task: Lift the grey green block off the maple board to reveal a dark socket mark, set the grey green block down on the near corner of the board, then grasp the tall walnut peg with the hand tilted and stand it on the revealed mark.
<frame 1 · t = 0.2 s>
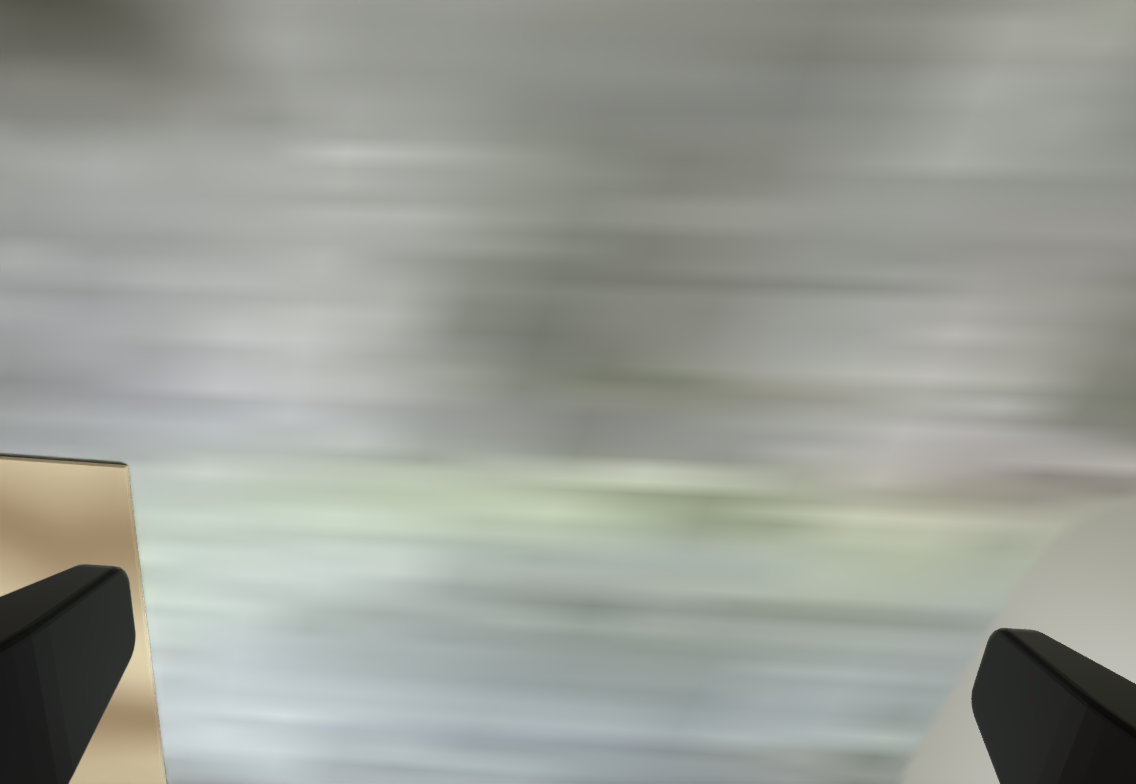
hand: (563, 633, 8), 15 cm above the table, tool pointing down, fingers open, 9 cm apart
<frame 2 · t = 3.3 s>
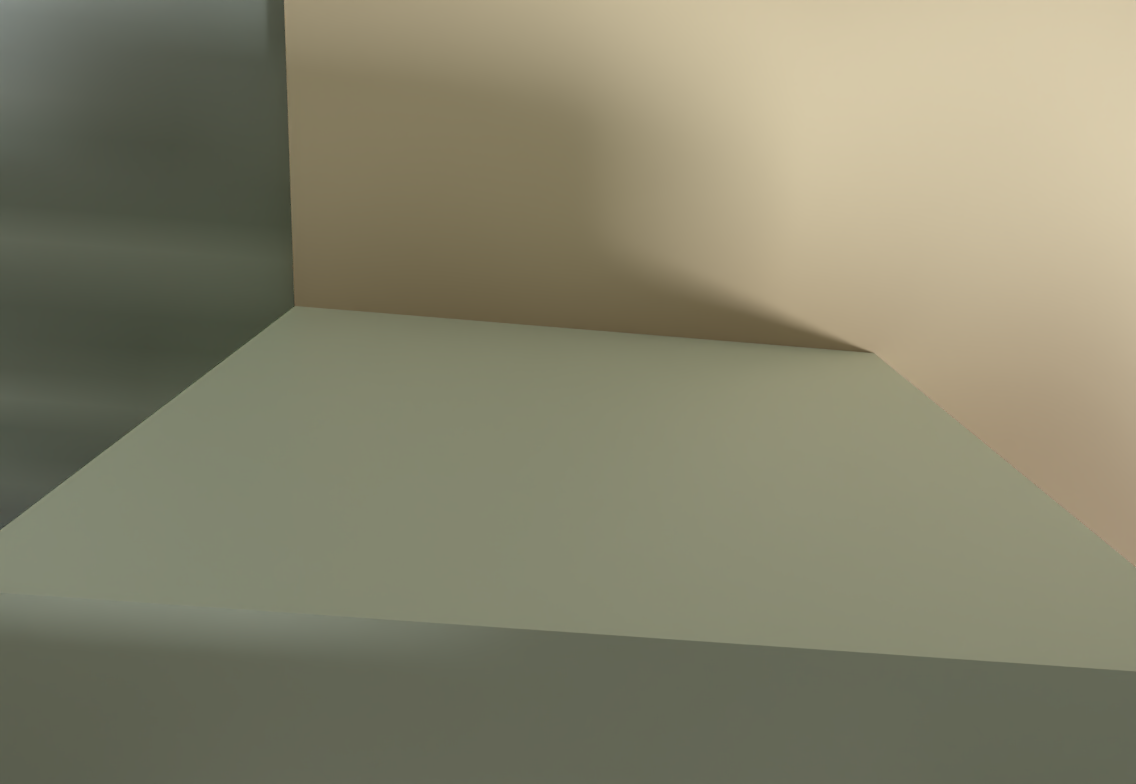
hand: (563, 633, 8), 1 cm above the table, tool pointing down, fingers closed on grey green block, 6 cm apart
grey green block: (563, 578, 9), resting on board, touching gripper
board: (1082, 531, 9), on the table
when the fingers open (2 cm above the table, at t = 7.9 s): grey green block drops 1 cm, resting on board.
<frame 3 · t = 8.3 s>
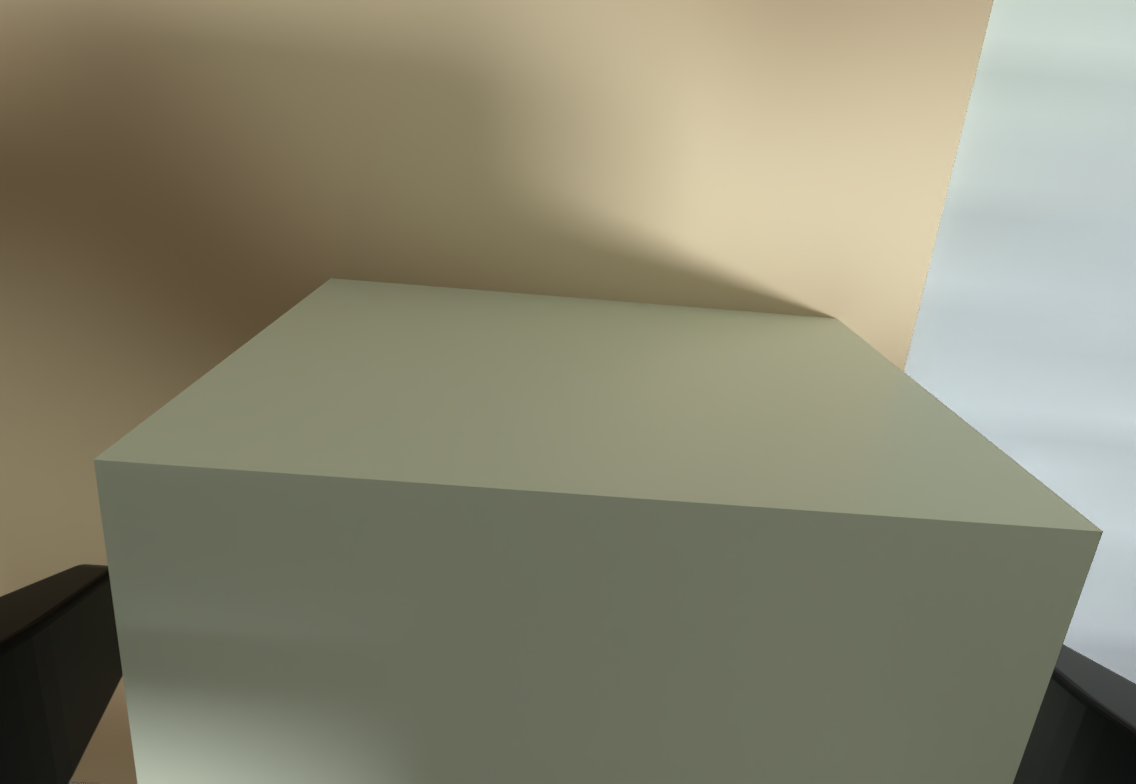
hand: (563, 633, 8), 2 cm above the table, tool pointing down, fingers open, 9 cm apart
grey green block: (565, 521, 10), resting on board
board: (161, 260, 9), on the table
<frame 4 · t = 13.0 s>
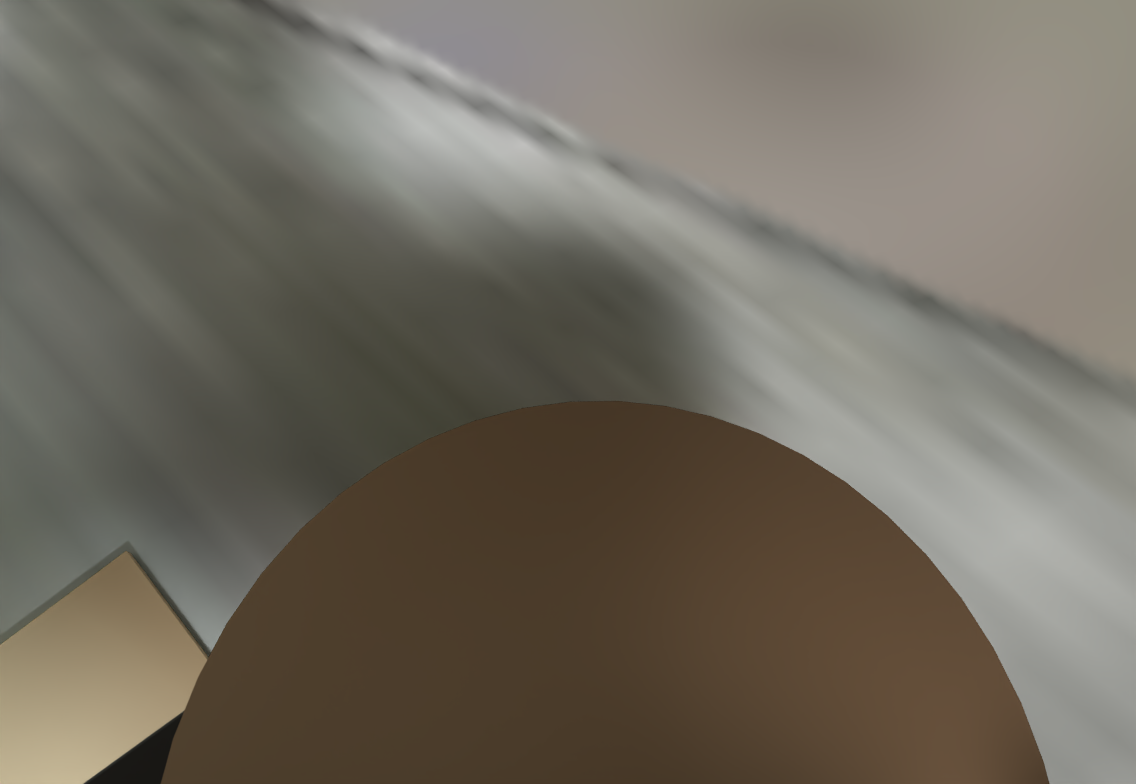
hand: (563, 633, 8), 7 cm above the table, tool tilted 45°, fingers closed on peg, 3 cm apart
peg: (537, 771, 14), on the table, touching gripper
when the fingers open (8 cm above the table, at t = 16.3 s): peg drops 1 cm, resting on board.
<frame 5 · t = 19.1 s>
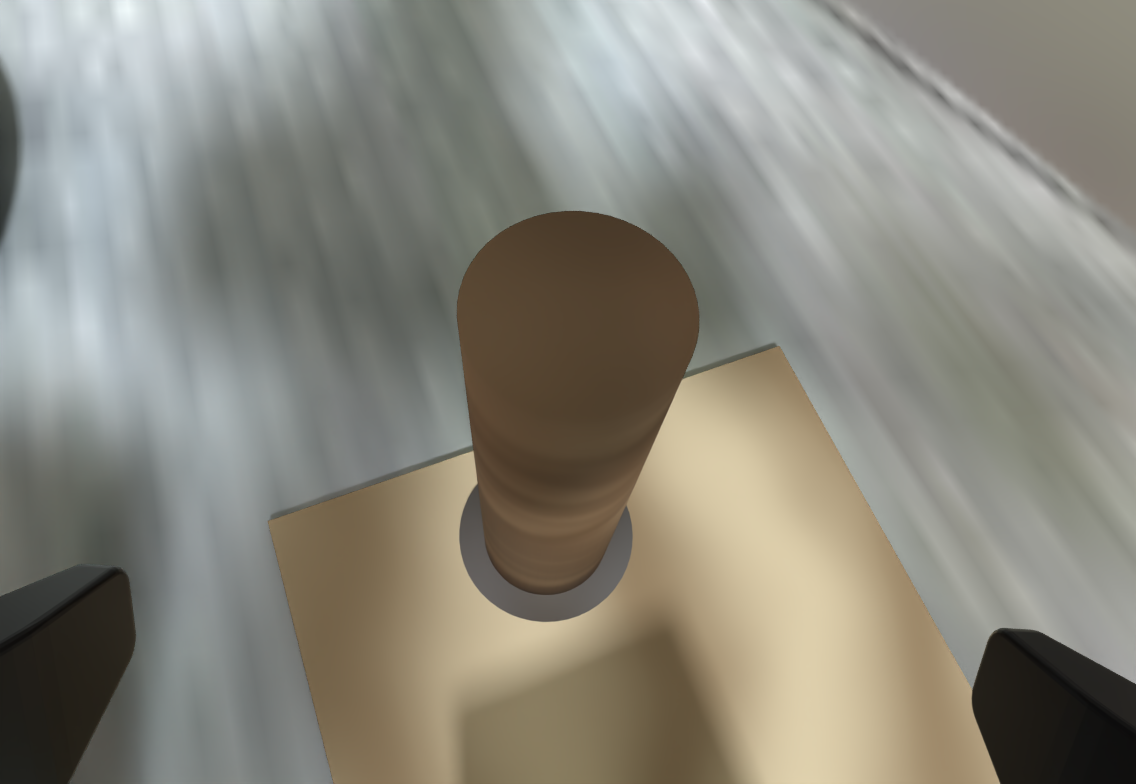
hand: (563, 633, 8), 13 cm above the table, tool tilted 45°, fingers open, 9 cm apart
peg: (546, 532, 22), resting on board
board: (667, 738, 20), on the table
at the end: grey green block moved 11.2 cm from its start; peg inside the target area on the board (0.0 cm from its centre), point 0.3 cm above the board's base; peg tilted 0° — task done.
